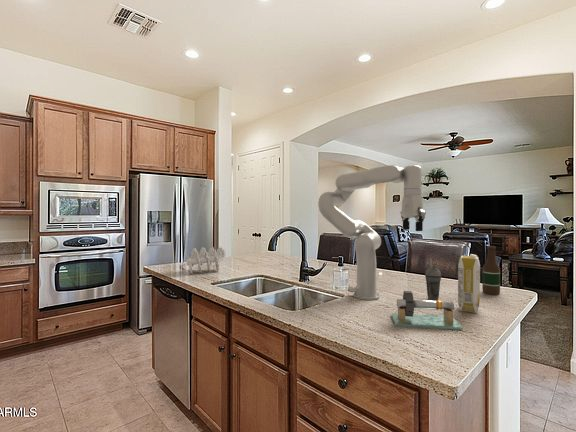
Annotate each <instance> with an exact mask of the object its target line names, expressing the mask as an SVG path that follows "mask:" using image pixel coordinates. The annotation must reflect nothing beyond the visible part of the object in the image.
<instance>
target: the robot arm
mask: <svg viewBox="0 0 576 432" xmlns="http://www.w3.org/2000/svg"><path fill="white" fill-rule="evenodd" d="M334 183H335V184H334V185H335V186H336V189H335V190H334V191H325V192H323V193H322V194H321V195H320V196H319V198H318V202H317V204H318V206H317V207H318V209H319V212H320V214H321V215H322V217H323V218H325V220H326V221H328V222H329V223H330V224H331V225H332V226H333V227H334V228H335V229H336V230H338V231H339V233H341V234H342V235H343V236H345V237H346V238H350V239H352V238H355V244H354V249H355V253H356V254H355V255H356V285H355V286H354V287H347V292H350V293H353V297H354V298H355V299H360V300H365V301H367V300H368V301H373V300H377V299H380V296H381V295H380V293H378V292H377V255H376V250H378V249H379V248H380V246H381V245H382V238H381V236H380V234H378V233H377V232H376V231H375V230H374V229H373V228H371V227H370V226H369V225H368V224H367V223H365V222H364V221H362V220H361V219H358V218H351V217H349V216H348V215H347V214H346V213H344V212H343V211H342V210H340V209H339V208H340V207H342V206H343V205H344V204H345V203H346V202H347V200H348V199H349V198H350V197H351V196H352V194H354V192H355V190H360V189H361V190H362V189H368V188H370V187H371V186H374V185H379V184H384V183H394V184H399V183H403V197H402V202H401V211H399V212H400V217H401V221H402V230H403V231H410V221H409V220H410V219H413V218H414V219H415V221H416V222H415V232H423V227H424V226H423V222H424V221H425V218H426V211H425V210H424V207H423V198H422V167H421V166H420V165H416V164H415V165H413V164H412V165H407V166H404V167H399V166H397V165H394V164H393V165H384V166H378V167H374V168H370V169H366V170H361V171H356V172H350V173H345V174H344V173H343V174H340V175H339V176H337V178H336V179H335V182H334Z"/></svg>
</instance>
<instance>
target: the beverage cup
mask: <svg viewBox="0 0 576 432" xmlns="http://www.w3.org/2000/svg"><path fill="white" fill-rule="evenodd" d="M429 261H430V267H429V268H427V269H426V271H425V272H424V273H425V274H424V276H425V280H426V281H425V283H426V294H427V300H429V301H436V300H439V297H440V285H441V280H442V276H443V275H442V273H441V270H440V269H439V268H438V267H437V266H436V267H435V266H433V264H432V263H433V261H432V257H429Z"/></svg>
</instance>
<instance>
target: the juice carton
mask: <svg viewBox="0 0 576 432" xmlns="http://www.w3.org/2000/svg"><path fill="white" fill-rule="evenodd" d="M480 263H481V262H480V260H479V256H478V255H477V254H473V253H469V255H461V256H460V258H459V260H458V264H457V265H458V267H457V268H458V269H457V270H458V271H457V301H458V302H457V304H458V308H459V311H460V312H466V313H473V314H477V313H478V311H479V308H480V300H481V299H480V298H481V297H480V296H481V295H480V293H481V264H480Z"/></svg>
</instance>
